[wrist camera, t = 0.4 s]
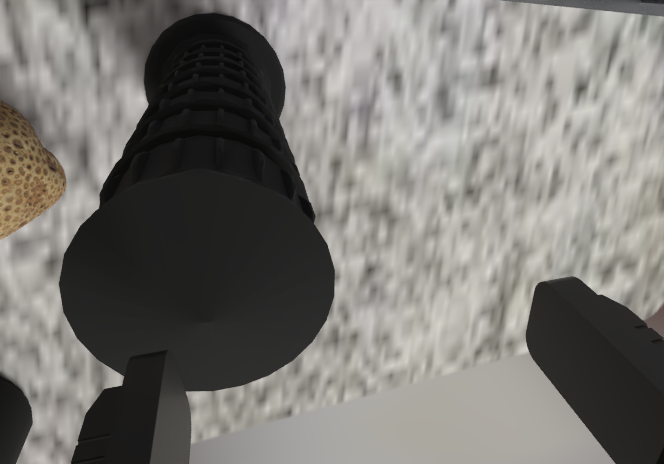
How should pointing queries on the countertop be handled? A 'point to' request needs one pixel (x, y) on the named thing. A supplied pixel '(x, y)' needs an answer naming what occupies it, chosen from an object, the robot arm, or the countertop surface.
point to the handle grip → (203, 221)
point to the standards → (608, 5)
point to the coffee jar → (13, 421)
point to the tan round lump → (25, 173)
